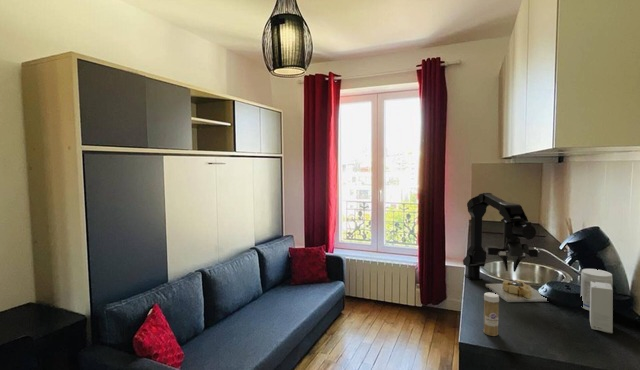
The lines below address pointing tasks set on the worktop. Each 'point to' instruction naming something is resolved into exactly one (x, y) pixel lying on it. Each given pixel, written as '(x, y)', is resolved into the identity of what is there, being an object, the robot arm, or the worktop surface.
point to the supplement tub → (592, 276)
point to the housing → (515, 297)
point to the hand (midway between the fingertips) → (510, 271)
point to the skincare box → (601, 306)
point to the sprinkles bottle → (491, 314)
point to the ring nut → (522, 290)
